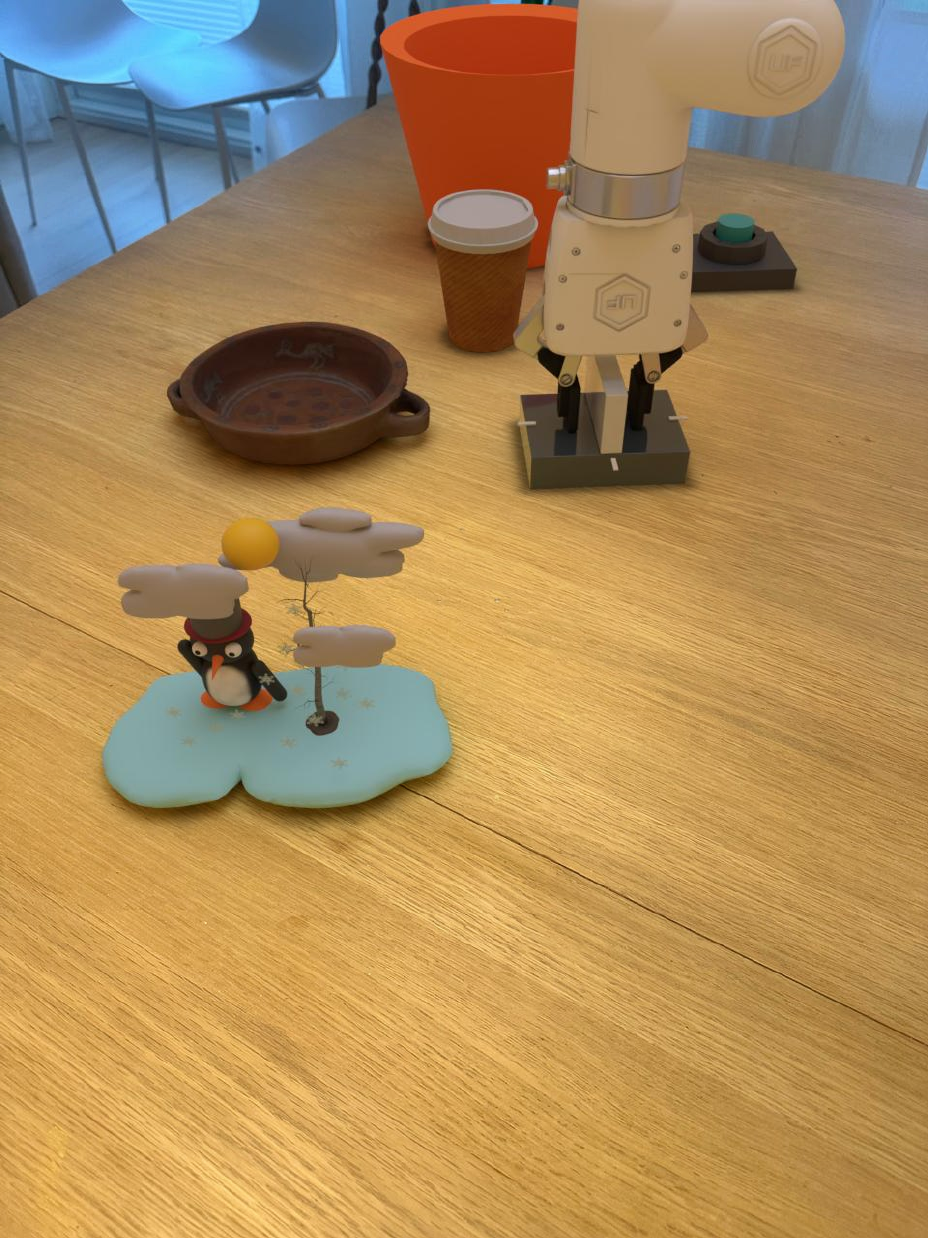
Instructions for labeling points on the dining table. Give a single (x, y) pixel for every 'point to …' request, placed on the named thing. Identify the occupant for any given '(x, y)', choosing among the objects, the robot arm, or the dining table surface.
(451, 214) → the disposable coffee cup
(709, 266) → the switch box
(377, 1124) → the dining table surface
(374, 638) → the penguin figurine
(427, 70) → the flowerpot
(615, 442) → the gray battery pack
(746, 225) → the teal button
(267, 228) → the dining table surface
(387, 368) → the dish
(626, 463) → the base
